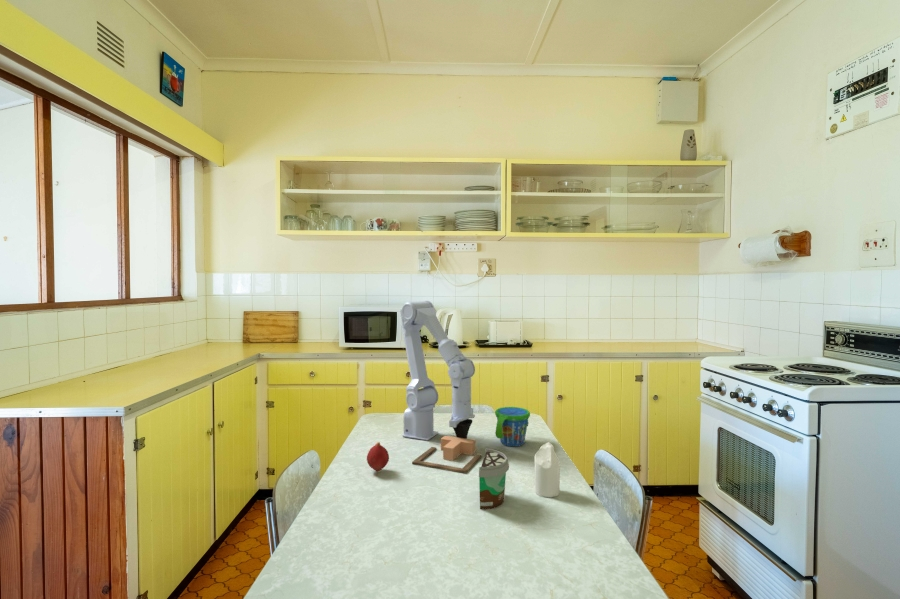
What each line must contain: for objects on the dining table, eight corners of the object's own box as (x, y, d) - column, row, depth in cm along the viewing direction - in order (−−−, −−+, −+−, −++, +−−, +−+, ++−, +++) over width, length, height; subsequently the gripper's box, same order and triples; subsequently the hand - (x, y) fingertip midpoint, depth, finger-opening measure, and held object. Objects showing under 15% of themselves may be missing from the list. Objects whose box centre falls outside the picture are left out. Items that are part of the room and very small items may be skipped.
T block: (444, 446, 142) (444, 435, 142) (475, 451, 138) (475, 440, 138) (432, 457, 134) (432, 445, 134) (464, 462, 130) (464, 450, 130)
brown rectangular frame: (412, 463, 129) (412, 461, 129) (431, 448, 141) (431, 446, 141) (465, 473, 123) (465, 471, 123) (481, 456, 134) (481, 454, 134)
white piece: (533, 446, 110) (535, 438, 115) (533, 495, 110) (535, 485, 116) (559, 448, 108) (560, 440, 114) (559, 498, 109) (560, 488, 114)
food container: (506, 515, 101) (506, 470, 101) (478, 512, 103) (478, 467, 102) (510, 489, 113) (511, 449, 113) (485, 487, 115) (485, 447, 114)
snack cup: (514, 433, 155) (514, 402, 154) (541, 441, 147) (541, 409, 147) (483, 445, 144) (483, 412, 144) (509, 454, 136) (509, 419, 136)
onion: (362, 473, 123) (362, 443, 123) (375, 465, 128) (375, 437, 128) (380, 477, 121) (380, 447, 120) (393, 469, 126) (392, 440, 125)
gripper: (465, 407, 133) (465, 454, 133) (482, 395, 146) (482, 438, 147) (442, 404, 135) (442, 450, 136) (461, 393, 149) (461, 435, 149)
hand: (461, 443), depth 142 cm, fingers closed
